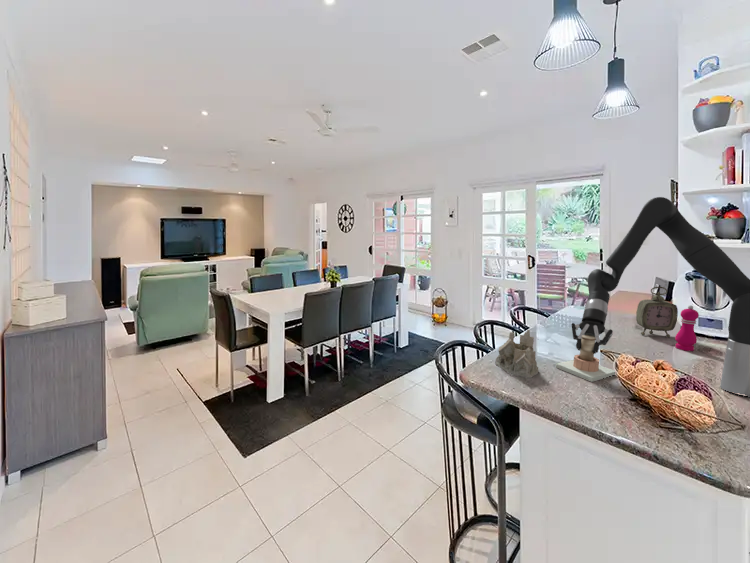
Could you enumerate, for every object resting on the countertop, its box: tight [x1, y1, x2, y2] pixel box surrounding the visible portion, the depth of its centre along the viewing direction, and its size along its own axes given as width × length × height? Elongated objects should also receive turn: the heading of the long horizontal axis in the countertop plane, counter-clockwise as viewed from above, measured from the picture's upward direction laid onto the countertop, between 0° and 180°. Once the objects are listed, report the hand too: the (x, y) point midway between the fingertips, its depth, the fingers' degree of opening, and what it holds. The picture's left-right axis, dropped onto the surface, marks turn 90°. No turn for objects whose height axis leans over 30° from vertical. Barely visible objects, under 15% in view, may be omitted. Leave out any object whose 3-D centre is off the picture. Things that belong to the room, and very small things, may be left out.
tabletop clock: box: [635, 286, 679, 338], centre depth 175 cm, size 14×9×25 cm, turn 73°
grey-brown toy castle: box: [495, 329, 539, 379], centre depth 132 cm, size 16×16×15 cm
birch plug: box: [579, 335, 596, 362], centre depth 129 cm, size 4×4×9 cm
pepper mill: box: [674, 305, 699, 352], centre depth 155 cm, size 7×7×20 cm
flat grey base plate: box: [555, 354, 616, 383], centre depth 130 cm, size 14×14×5 cm
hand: (586, 350), depth 128 cm, fingers closed on birch plug, 4 cm apart
